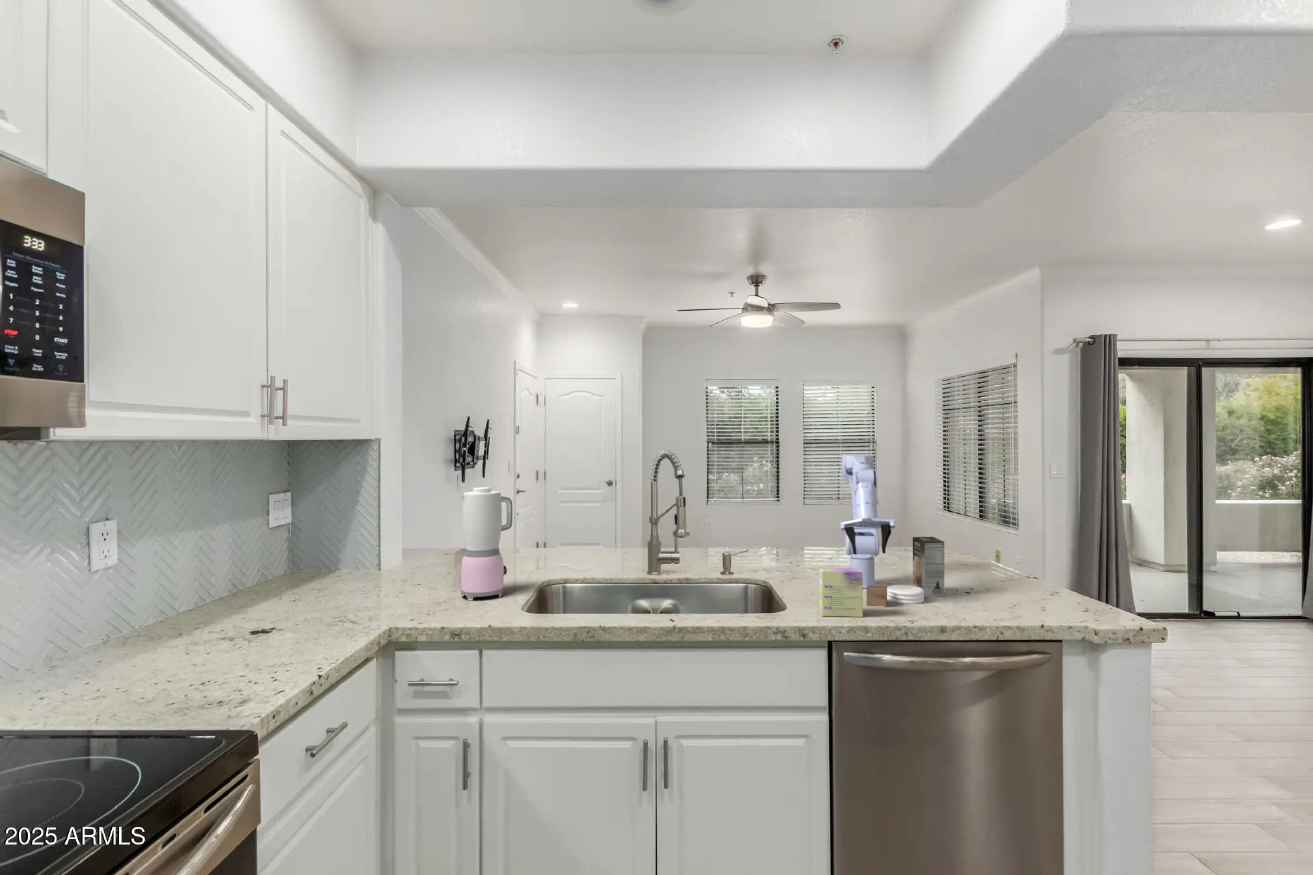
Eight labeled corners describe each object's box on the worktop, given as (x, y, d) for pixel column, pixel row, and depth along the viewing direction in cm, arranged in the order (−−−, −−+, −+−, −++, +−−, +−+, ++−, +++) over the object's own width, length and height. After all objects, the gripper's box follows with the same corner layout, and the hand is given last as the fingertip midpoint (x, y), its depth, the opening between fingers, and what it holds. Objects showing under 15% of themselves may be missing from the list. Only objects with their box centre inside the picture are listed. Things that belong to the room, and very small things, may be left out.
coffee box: (911, 589, 199) (911, 536, 199) (933, 589, 199) (932, 536, 199) (923, 596, 190) (923, 541, 190) (945, 596, 190) (945, 541, 190)
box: (858, 611, 175) (858, 567, 175) (863, 617, 169) (862, 571, 169) (818, 610, 176) (818, 566, 176) (821, 616, 170) (821, 570, 170)
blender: (468, 603, 187) (467, 490, 187) (455, 594, 197) (454, 487, 197) (520, 595, 196) (520, 487, 196) (505, 587, 206) (504, 485, 206)
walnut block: (868, 601, 185) (868, 583, 185) (887, 603, 183) (887, 585, 183) (866, 605, 181) (866, 587, 181) (885, 607, 179) (885, 589, 179)
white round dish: (886, 603, 184) (885, 590, 184) (887, 595, 193) (887, 583, 193) (924, 606, 180) (924, 593, 180) (923, 597, 190) (923, 585, 190)
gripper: (838, 503, 189) (840, 548, 182) (891, 500, 184) (895, 546, 177) (842, 513, 194) (843, 557, 188) (894, 510, 189) (897, 555, 182)
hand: (869, 552), depth 183 cm, fingers open, 7 cm apart
